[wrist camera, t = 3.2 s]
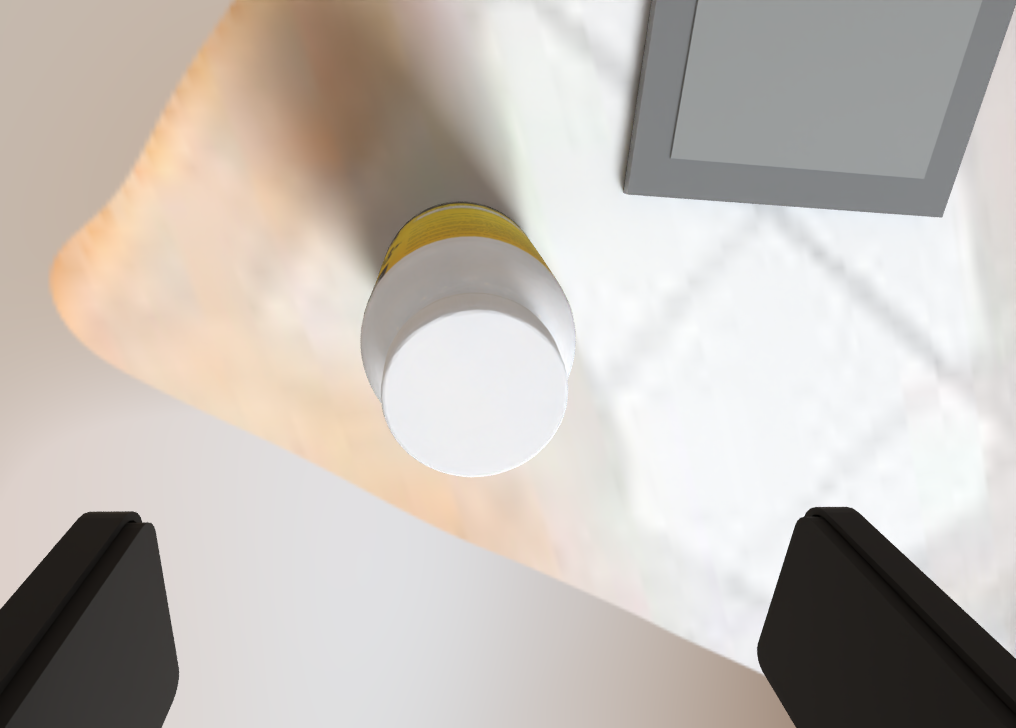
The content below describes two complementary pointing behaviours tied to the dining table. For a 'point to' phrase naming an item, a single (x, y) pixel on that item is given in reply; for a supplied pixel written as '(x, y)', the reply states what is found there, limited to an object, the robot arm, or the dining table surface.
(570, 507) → the dining table surface
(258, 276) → the dining table surface
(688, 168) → the coaster
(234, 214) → the dining table surface
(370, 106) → the dining table surface
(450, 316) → the pill bottle
